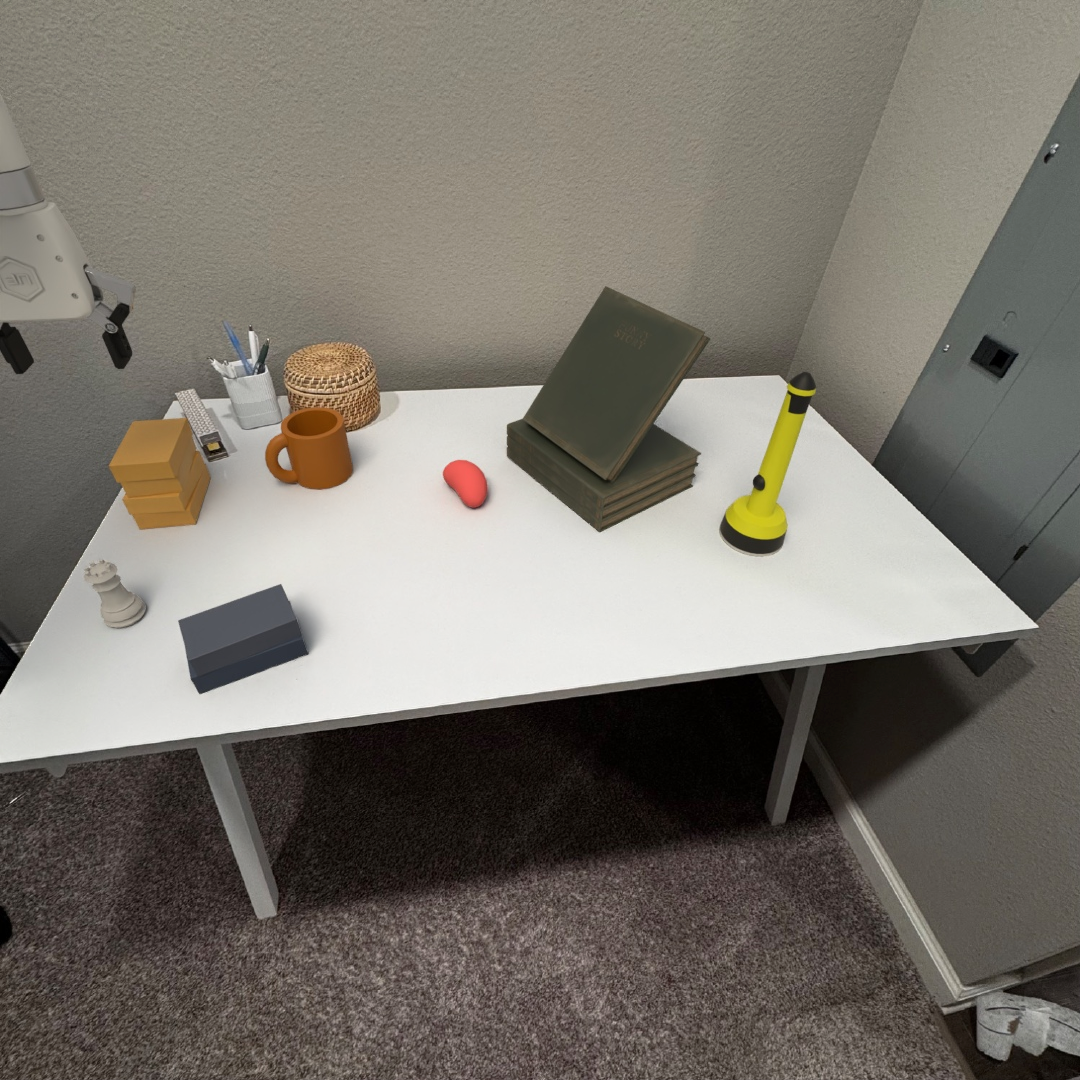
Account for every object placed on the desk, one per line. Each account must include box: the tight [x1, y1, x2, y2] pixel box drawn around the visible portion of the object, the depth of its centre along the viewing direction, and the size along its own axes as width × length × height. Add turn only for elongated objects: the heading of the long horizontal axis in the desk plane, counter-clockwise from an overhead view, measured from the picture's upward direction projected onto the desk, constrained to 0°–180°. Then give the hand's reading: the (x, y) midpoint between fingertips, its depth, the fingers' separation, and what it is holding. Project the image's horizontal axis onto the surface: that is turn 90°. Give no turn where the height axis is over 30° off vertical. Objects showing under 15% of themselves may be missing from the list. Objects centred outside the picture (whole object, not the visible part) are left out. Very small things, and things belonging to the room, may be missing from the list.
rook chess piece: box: [83, 558, 147, 629], centre depth 71 cm, size 4×4×8 cm
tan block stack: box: [119, 436, 212, 530], centre depth 87 cm, size 12×8×8 cm, turn 11°
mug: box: [264, 406, 354, 490], centre depth 93 cm, size 9×12×9 cm
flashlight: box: [718, 371, 817, 557], centre depth 81 cm, size 25×9×9 cm
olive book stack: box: [506, 285, 711, 533], centre depth 91 cm, size 23×20×25 cm
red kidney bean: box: [442, 459, 489, 508], centre depth 92 cm, size 5×9×6 cm, turn 21°
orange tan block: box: [108, 417, 194, 484], centre depth 84 cm, size 11×7×3 cm, turn 11°
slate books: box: [177, 583, 309, 695], centre depth 68 cm, size 12×7×6 cm, turn 119°
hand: (75, 366), depth 68 cm, fingers open, 9 cm apart
